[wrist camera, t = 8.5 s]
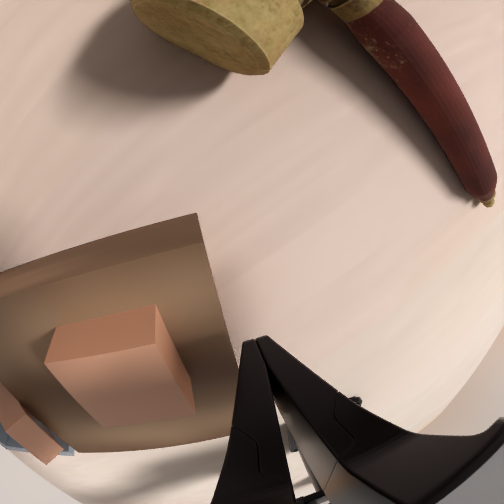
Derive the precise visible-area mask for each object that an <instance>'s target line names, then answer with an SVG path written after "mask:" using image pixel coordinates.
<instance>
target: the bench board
mask: <svg viewBox="0 0 504 504" xmlns="http://www.w3.org/2000/svg"><path fill="white" fill-rule="evenodd" d="M154 304H156V306H157V308H158V310H159V313H160V315H161V317H162V320H163V322H164V324H165V326H166V329H167V331H168V333H169V335H170V337H171V339H172V342H173V344H174V346H175V348H176V350H177V352H178V354H179V356H180V358H181V360H182V362H183V364H184V366H185V368H186V370H187V372H188V374H189V376H190V378H191V385H192V392H193V398H194V405H195V411H196V414H192V415H187V416H182V417H176V418H170V419H164V420H158V421H151V422H144V423H136V424H127V425H117V426H105V427H103V426H102V425H100V424H99V423H98V422H97V421H96V420H95V419H94V418H93V417H92V416H91V415H90V414H89V413H88V412H87V411H86V410H85V409H84V408H83V407H82V406H81V405H80V404H79V403H78V402H77V401H76V400H75V399H74V398H73V397H72V396H71V395H70V393H69V392H68V391H67V390H66V389H65V388H64V387H63V386H62V385H61V383H60V382H59V381H58V380H57V379H56V378H55V376H54V375H53V374H52V373H51V372H50V370H49V369H48V368H47V367H46V365H45V364H44V361H45V358H46V355H47V352H48V349H49V346H50V343H51V341H52V338H53V335H54V332H55V329H56V327H58V326H62V325H67V324H72V323H76V322H81V321H85V320H90V319H94V318H99V317H103V316H107V315H112V314H116V313H120V312H125V311H129V310H133V309H137V308H142V307H146V306H150V305H154ZM238 373H239V369H238V365H237V362H236V359H235V355H234V352H233V349H232V345H231V342H230V338H229V335H228V331H227V328H226V324H225V321H224V317H223V314H222V310H221V306H220V303H219V299H218V295H217V292H216V288H215V284H214V280H213V277H212V273H211V269H210V265H209V261H208V257H207V253H206V249H205V245H204V241H203V237H202V233H201V229H200V225H199V221H198V216H197V213H194V214H190V215H186V216H182V217H178V218H174V219H171V220H167V221H163V222H159V223H156V224H152V225H148V226H145V227H141V228H137V229H134V230H130V231H127V232H123V233H120V234H116V235H113V236H109V237H106V238H103V239H99V240H96V241H93V242H90V243H86V244H83V245H80V246H77V247H74V248H70V249H67V250H64V251H61V252H58V253H55V254H52V255H49V256H46V257H43V258H40V259H37V260H34V261H31V262H28V263H26V264H23V265H20V266H17V267H14V268H12V269H9V270H6V271H3V272H1V273H0V382H1V383H2V385H3V386H4V387H5V388H6V389H7V390H8V391H9V392H10V393H11V394H12V395H13V396H14V397H15V398H16V399H17V400H18V401H19V402H20V403H21V404H22V405H23V406H24V407H25V408H26V409H27V410H28V411H29V412H30V413H31V414H32V415H33V416H34V417H35V418H37V419H38V420H39V421H40V422H41V423H42V424H43V425H44V426H46V427H47V428H48V429H49V430H50V431H52V432H53V433H54V434H55V435H56V436H58V437H59V438H60V439H61V440H63V441H64V442H65V443H67V444H68V445H69V446H71V447H72V448H73V449H75V450H76V451H77V452H79V453H96V452H122V451H136V450H146V449H155V448H164V447H171V446H178V445H184V444H190V443H196V442H201V441H206V440H211V439H216V438H220V437H225V436H229V435H230V430H231V427H232V425H231V424H232V416H233V409H234V402H235V395H236V387H237V380H238Z"/></svg>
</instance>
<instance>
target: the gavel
mask: <svg viewBox="0 0 504 504" xmlns="http://www.w3.org/2000/svg"><path fill="white" fill-rule="evenodd" d="M311 1H312V0H131V2H130V4H131V6H132V8H133V11H134V13H135V15H136V16H137V18H138V19H139V20H140V21H141V22H142V23H143V24H144V25H145V26H147V27H148V28H149V29H150V30H152V31H153V32H155V33H156V34H157V35H159V36H160V37H162V38H164V39H165V40H167V41H168V42H171V43H173V44H175V45H177V46H179V47H181V48H183V49H185V50H187V51H189V52H191V53H193V54H195V55H197V56H199V57H200V58H202V59H204V60H206V61H208V62H210V63H212V64H213V65H216V66H218V67H221V68H223V69H226V70H229V71H232V72H235V73H239V74H244V75H264V74H266V73H268V72H269V71H270V69H271V68H272V67H273V65H274V64H275V63H276V61H277V60H278V59H279V57H280V56H281V54H282V53H283V52H284V50H285V49H286V48H287V47H288V45H289V44H290V43H291V41H292V40H293V39H294V37H295V36H296V35H297V34H298V32H299V31H300V30H301V28H302V26H303V22H304V16H303V11H302V8H304V7H305V6H306V5H308V4H309V3H310V2H311ZM318 1H320V2H321V3H329V5H328V8H329V9H330V10H331V11H332V12H334V13H335V14H336V15H337V16H338V17H339V18H340V19H342V20H343V21H344V23H345V24H346V25H347V26H348V28H349V29H350V30H351V32H352V33H353V34H354V35H355V37H356V38H357V40H358V41H359V42H360V44H361V45H362V46H363V47H364V48H365V49H366V50H367V51H368V53H369V54H370V55H371V56H372V57H373V58H374V59H375V60H376V61H377V62H378V63H379V64H380V65H381V67H382V68H383V69H384V70H385V71H386V72H387V73H388V75H389V76H390V77H391V78H392V79H393V81H394V82H395V83H396V84H397V85H398V87H399V88H400V89H401V90H402V92H403V93H404V94H405V95H406V97H407V98H408V99H409V101H410V102H411V103H412V105H413V106H414V107H415V109H416V110H417V111H418V113H419V114H420V116H421V117H422V118H423V120H424V121H425V123H426V124H427V126H428V127H429V129H430V130H431V132H432V133H433V135H434V136H435V138H436V139H437V141H438V142H439V144H440V146H441V147H442V149H443V151H444V152H445V154H446V156H447V157H448V159H449V161H450V162H451V164H452V166H453V168H454V169H455V171H456V173H457V175H458V177H459V179H460V181H461V182H462V184H463V186H464V188H465V190H466V191H467V192H468V193H470V194H471V195H473V196H474V197H476V198H477V200H478V201H479V202H481V203H483V205H484V206H486V207H491V206H493V204H494V197H495V188H496V183H497V173H496V170H495V167H494V164H493V161H492V158H491V156H490V153H489V150H488V148H487V145H486V143H485V140H484V138H483V135H482V133H481V131H480V128H479V126H478V124H477V121H476V119H475V117H474V115H473V113H472V111H471V109H470V107H469V105H468V103H467V101H466V99H465V97H464V95H463V93H462V91H461V89H460V87H459V86H458V84H457V82H456V80H455V79H454V77H453V75H452V73H451V72H450V70H449V68H448V67H447V65H446V64H445V62H444V60H443V59H442V57H441V56H440V54H439V53H438V51H437V50H436V48H435V47H434V45H433V44H432V42H431V41H430V40H429V38H428V37H427V35H426V34H425V33H424V31H423V30H422V29H421V27H420V26H419V25H418V23H417V22H416V21H415V20H414V18H413V17H412V16H411V15H410V14H409V13H408V12H407V11H406V10H405V9H404V8H403V7H402V6H400V5H399V4H398V3H397V2H396V1H395V0H318Z"/></svg>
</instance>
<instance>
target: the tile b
mask: <svg viewBox="0 0 504 504" xmlns="http://www.w3.org/2000/svg"><path fill="white" fill-rule="evenodd" d="M44 364H45V365H46V367H47V368H48V369H49V370H50V372H51V373H52V374H53V375H54V376H55V378H56V379H57V380H58V381H59V382H60V383H61V385H62V386H63V387H64V388H65V389H66V390H67V391H68V392H69V393H70V395H71V396H72V397H73V398H74V399H75V400H76V401H77V402H78V403H79V404H80V405H81V406H82V407H83V408H84V409H85V410H86V411H87V412H88V413H89V414H90V415H91V416H92V417H93V418H94V419H95V420H96V421H97V422H98V423H99V424H100V425H102V426H103V427H105V426H117V425H127V424H136V423H144V422H151V421H158V420H164V419H170V418H176V417H182V416H187V415H192V414H196V411H195V405H194V398H193V392H192V385H191V378H190V376H189V374H188V372H187V370H186V368H185V366H184V364H183V362H182V360H181V358H180V356H179V354H178V352H177V350H176V348H175V346H174V344H173V342H172V339H171V337H170V335H169V333H168V331H167V329H166V326H165V324H164V322H163V320H162V317H161V315H160V313H159V310H158V308H157V306H156V304H154V305H150V306H146V307H142V308H137V309H133V310H129V311H125V312H120V313H116V314H112V315H107V316H103V317H99V318H94V319H90V320H85V321H81V322H76V323H72V324H67V325H62V326H58V327H56V329H55V332H54V335H53V338H52V341H51V343H50V346H49V349H48V352H47V355H46V358H45V361H44Z"/></svg>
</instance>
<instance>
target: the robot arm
mask: <svg viewBox="0 0 504 504" xmlns="http://www.w3.org/2000/svg"><path fill="white" fill-rule="evenodd" d="M274 401H275V403H276V405H277V407H278V409H279V411H280V413H281V415H282V417H283V419H284V421H285V423H286V425H287V430H288V438H289V447H290V450H291V452H296V451H299V453H300V456H301V458H302V460H303V463H304V465H305V467H306V470H307V472H308V474H309V476H310V479H311V481H312V483H313V486H314V488H315V490H316V492H315V493H313V494H310V495H308V496H305V497H303V496H302V497H300V498H297V499H296V498H295V494H294V490H293V486H292V481H291V477H290V472H289V468H288V463H287V459H286V454H285V450H284V445H283V440H282V436H281V431H280V426H279V422H278V417H277V413H276V408H275V403H274ZM361 404H362V400H361V398H360V397H356V398H354V399H352V400H350V399H349V398H347V397H346V396H345V395H343V394H342V393H341V392H338V390H336V389H335V388H334V387H332V386H331V385H330V384H328V383H327V382H326V381H324V380H323V379H322V378H321V377H319V376H318V375H317V374H315V373H314V372H313V371H311V370H310V369H309V368H308V367H306V366H305V365H304V364H302V363H301V362H300V361H299V360H297V359H296V358H295V357H294V356H292V355H291V354H290V353H289V352H287V351H286V350H285V349H284V348H282V347H281V346H280V345H279V344H277V343H276V342H275V341H274V340H272V339H271V338H270V337H269V336H266V335H265V336H262V337H258V338H256V339H251V340H247V341H244V342H243V344H242V351H241V358H240V365H239V373H238V380H237V387H236V395H235V402H234V409H233V416H232V424H231V425H232V427H231V430H230V437H229V442H228V448H227V453H226V456H225V460H224V464H223V467H222V471H221V474H220V477H219V480H218V483H217V486H216V490H215V493H214V496H213V498H212V501H211V504H320V503H322V502H325V501H327V500H329V502H330V503H329V504H504V417H500V418H499V419H497V420H496V421H495V422H494V423H493V424H492V425H491V426H490V427H489V428H488V429H487V430H486V431H484V432H482V433H480V434H477V435H472V436H448V435H447V436H445V435H426V434H418V433H414V432H410V431H407V430H405V429H403V428H401V427H399V426H396V425H394V424H392V423H391V422H389V421H387V420H385V419H383V418H381V417H379V416H377V415H375V414H373V413H371V412H369V411H368V410H366V409H364V408H362V407H361Z"/></svg>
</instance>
